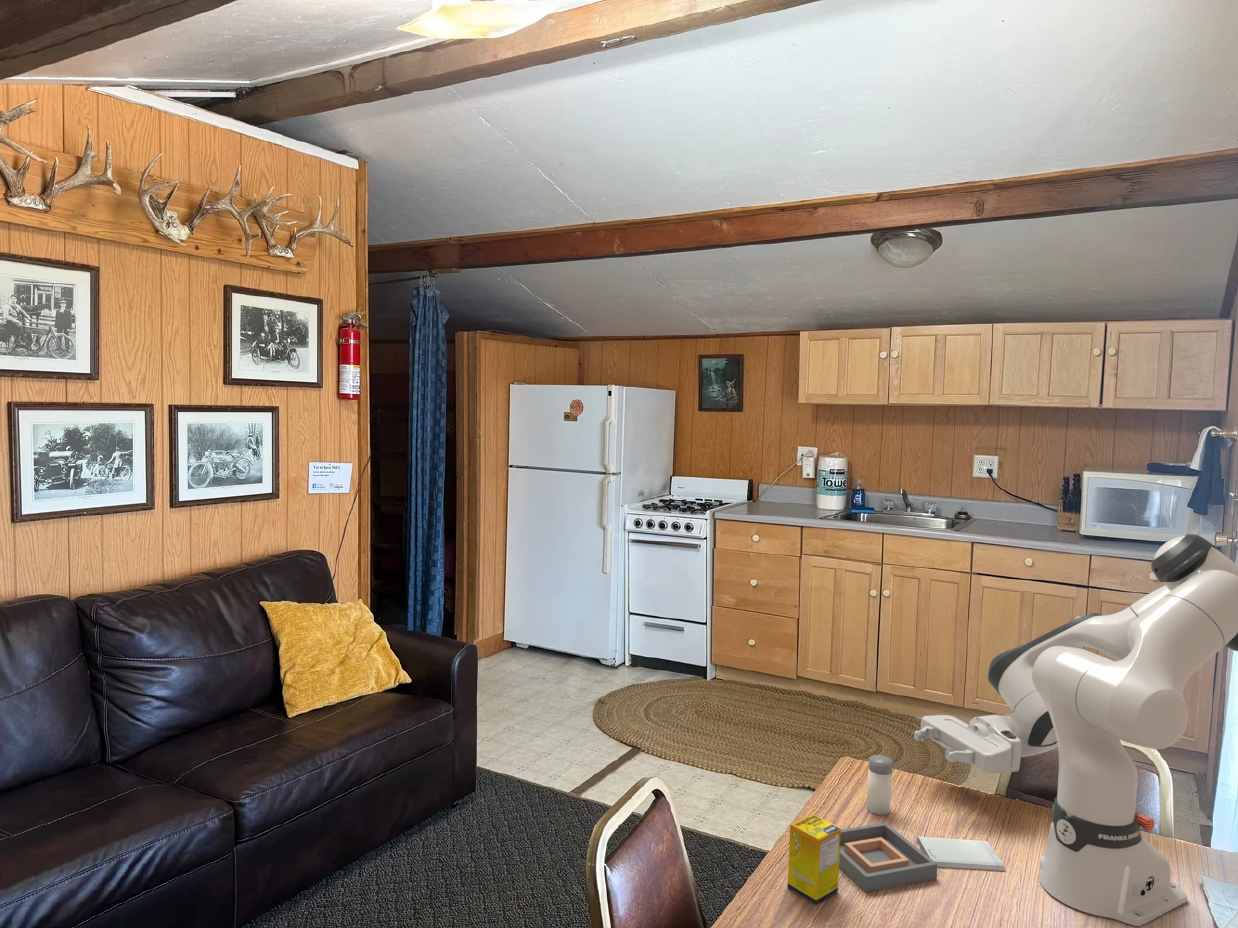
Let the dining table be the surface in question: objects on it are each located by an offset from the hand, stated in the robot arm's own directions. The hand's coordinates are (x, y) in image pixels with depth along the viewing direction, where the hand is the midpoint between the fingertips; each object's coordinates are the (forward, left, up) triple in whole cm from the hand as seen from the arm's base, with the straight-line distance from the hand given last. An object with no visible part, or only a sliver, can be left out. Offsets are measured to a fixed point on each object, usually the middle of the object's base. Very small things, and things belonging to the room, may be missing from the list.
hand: (931, 746), depth 166 cm
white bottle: (+12, 0, -11) cm, 16 cm away
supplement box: (+39, +20, -12) cm, 45 cm away
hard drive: (+8, +18, -12) cm, 23 cm away
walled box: (+24, +16, -11) cm, 31 cm away
